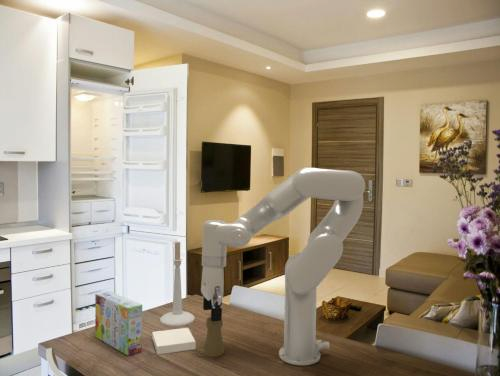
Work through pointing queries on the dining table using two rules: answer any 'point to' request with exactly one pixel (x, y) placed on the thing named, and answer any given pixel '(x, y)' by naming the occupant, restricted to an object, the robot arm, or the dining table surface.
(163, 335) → the tile base
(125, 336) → the snack box
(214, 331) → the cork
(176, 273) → the candlestick
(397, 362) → the dining table surface
